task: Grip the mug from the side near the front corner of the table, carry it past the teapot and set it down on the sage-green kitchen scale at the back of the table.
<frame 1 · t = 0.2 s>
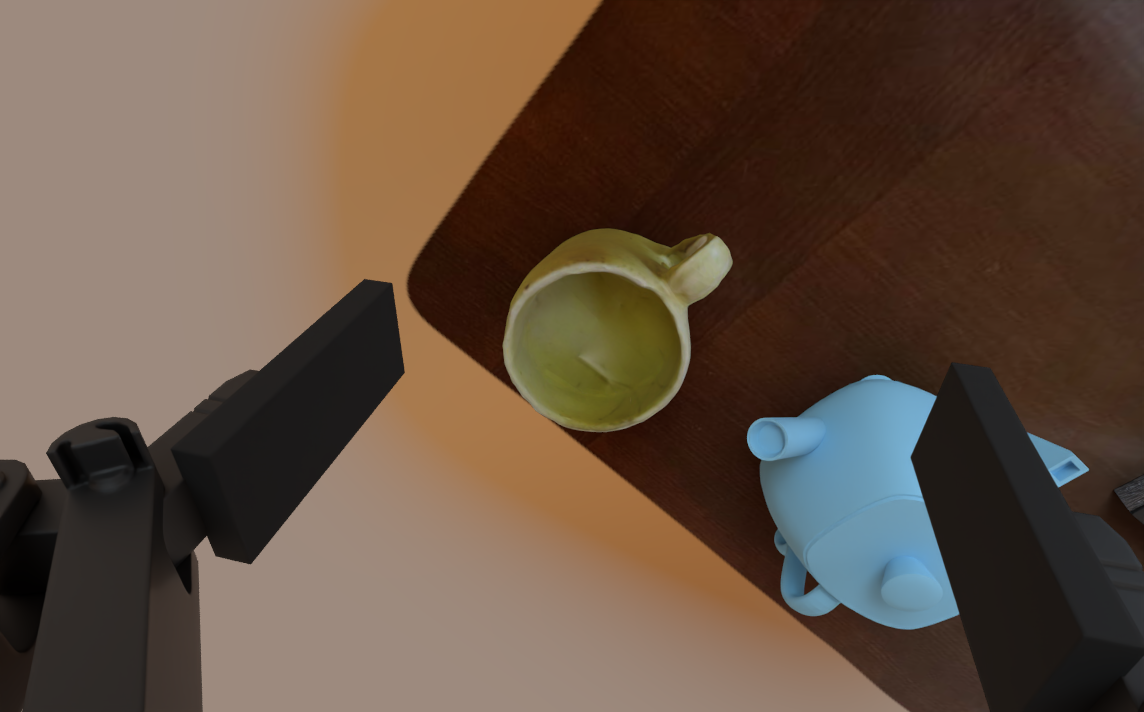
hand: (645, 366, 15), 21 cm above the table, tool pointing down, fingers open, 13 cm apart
mug: (637, 275, 37), on the table
teapot: (876, 436, 39), on the table
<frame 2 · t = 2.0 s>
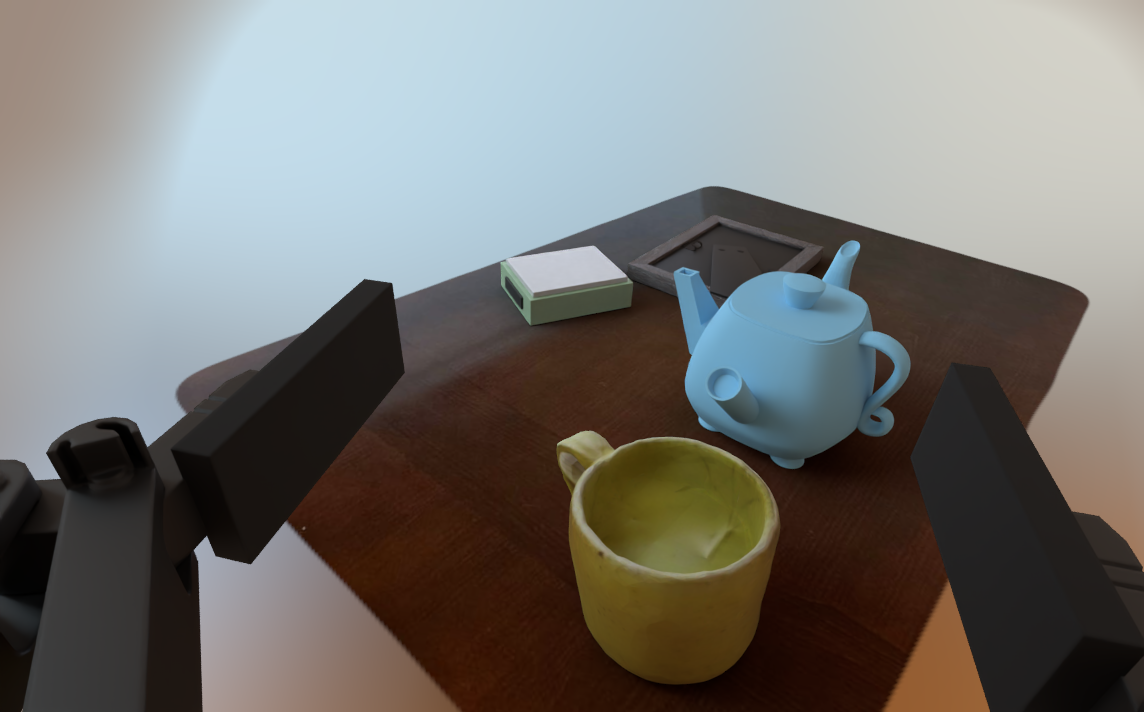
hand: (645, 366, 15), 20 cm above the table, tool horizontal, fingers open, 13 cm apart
mug: (638, 588, 34), on the table
scale: (564, 296, 60), on the table
teapot: (758, 418, 46), on the table
picture frame: (727, 270, 67), on the table
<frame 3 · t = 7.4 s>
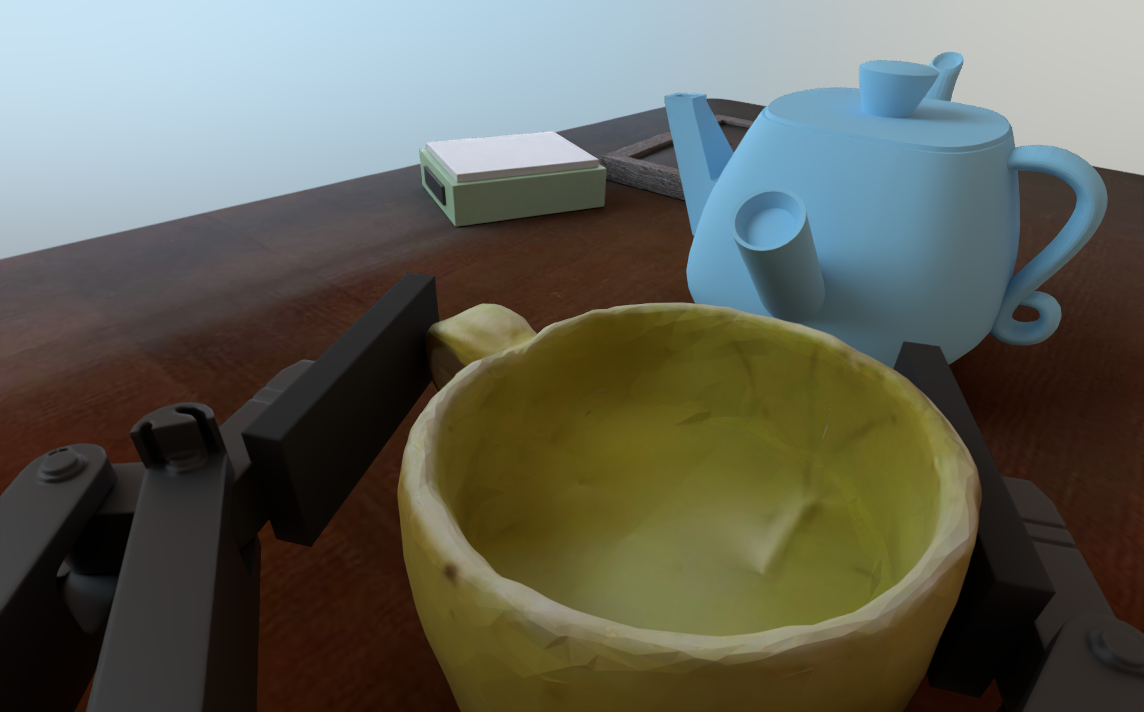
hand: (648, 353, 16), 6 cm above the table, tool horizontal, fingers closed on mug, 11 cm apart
mug: (603, 636, 16), on the table, touching gripper
scale: (511, 195, 43), on the table
teapot: (805, 337, 29), on the table
picture frame: (736, 171, 49), on the table
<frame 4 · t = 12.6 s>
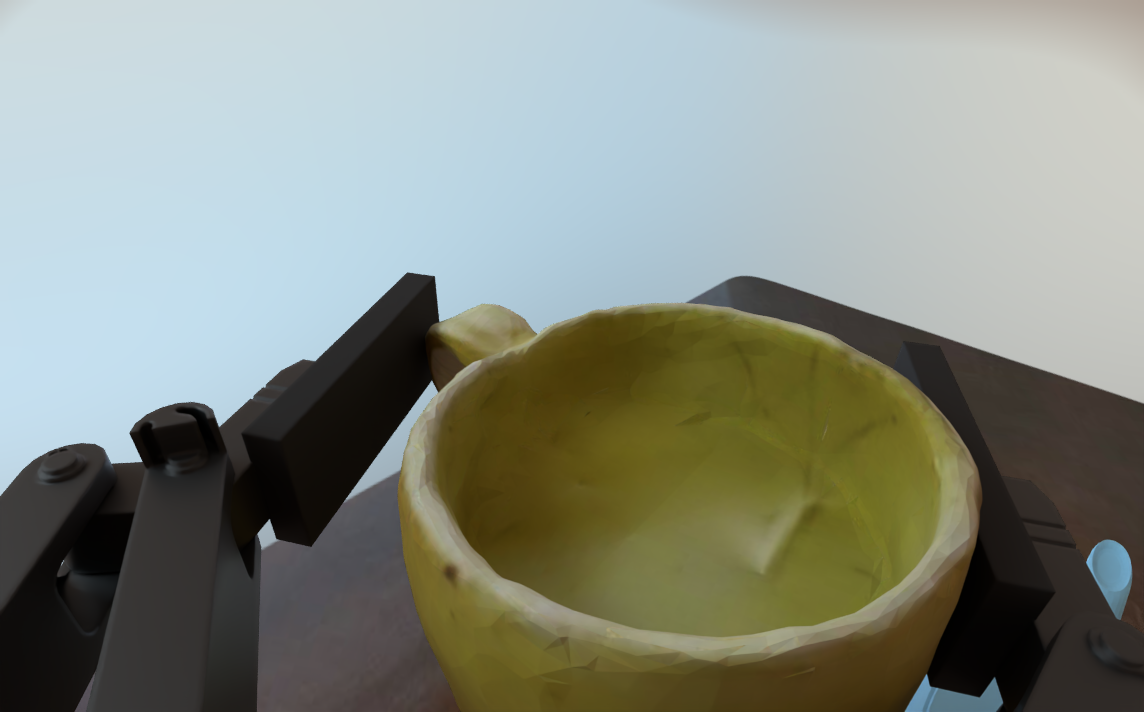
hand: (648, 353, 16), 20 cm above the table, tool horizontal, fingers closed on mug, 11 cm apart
mug: (603, 636, 16), point 14 cm above the table, touching gripper
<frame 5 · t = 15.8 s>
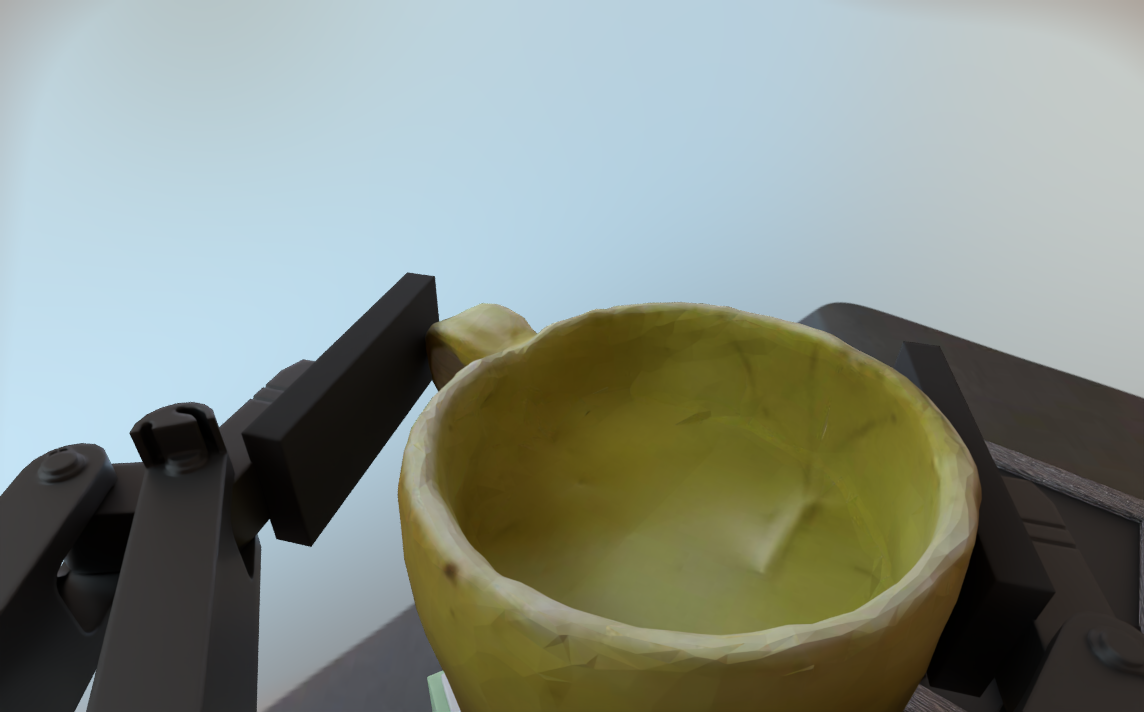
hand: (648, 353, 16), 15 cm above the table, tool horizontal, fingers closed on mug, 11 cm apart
mug: (603, 636, 16), point 9 cm above the table, touching gripper
picture frame: (978, 589, 28), on the table
when the fingers open (9 cm above the table, at t = 18.0 s): mug stays where it is, resting on scale.
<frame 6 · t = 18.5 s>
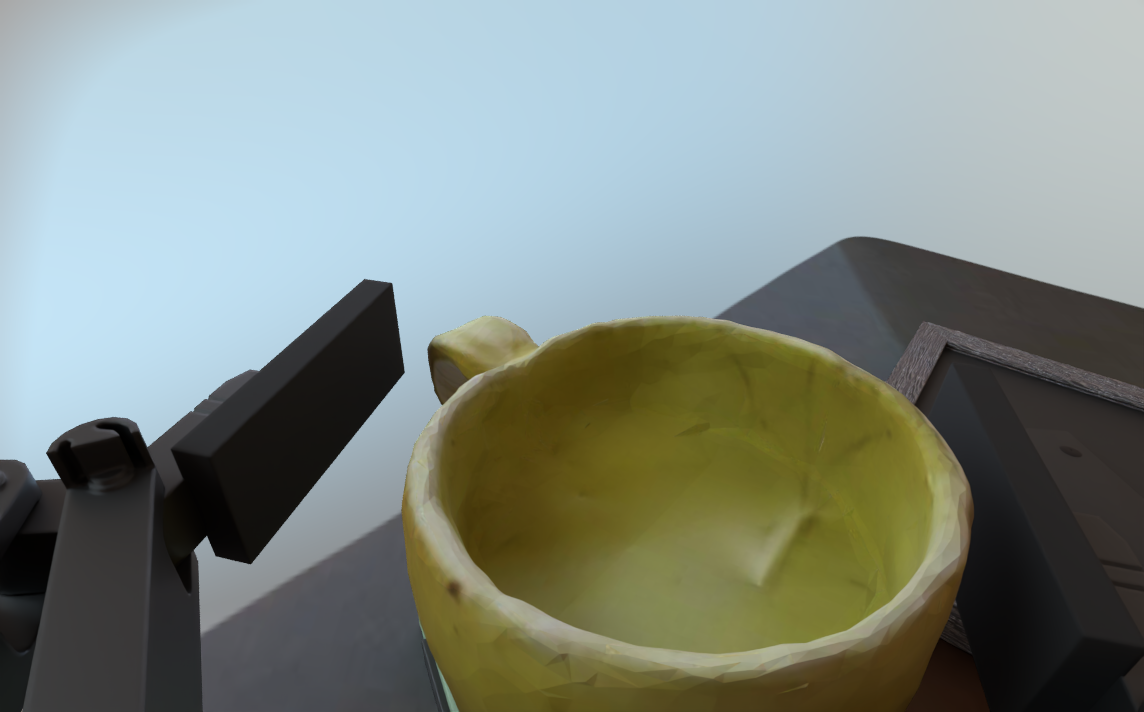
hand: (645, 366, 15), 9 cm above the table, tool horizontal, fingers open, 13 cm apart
mug: (603, 644, 16), point 3 cm above the table, touching scale
scale: (622, 674, 19), on the table
picture frame: (1033, 501, 25), on the table
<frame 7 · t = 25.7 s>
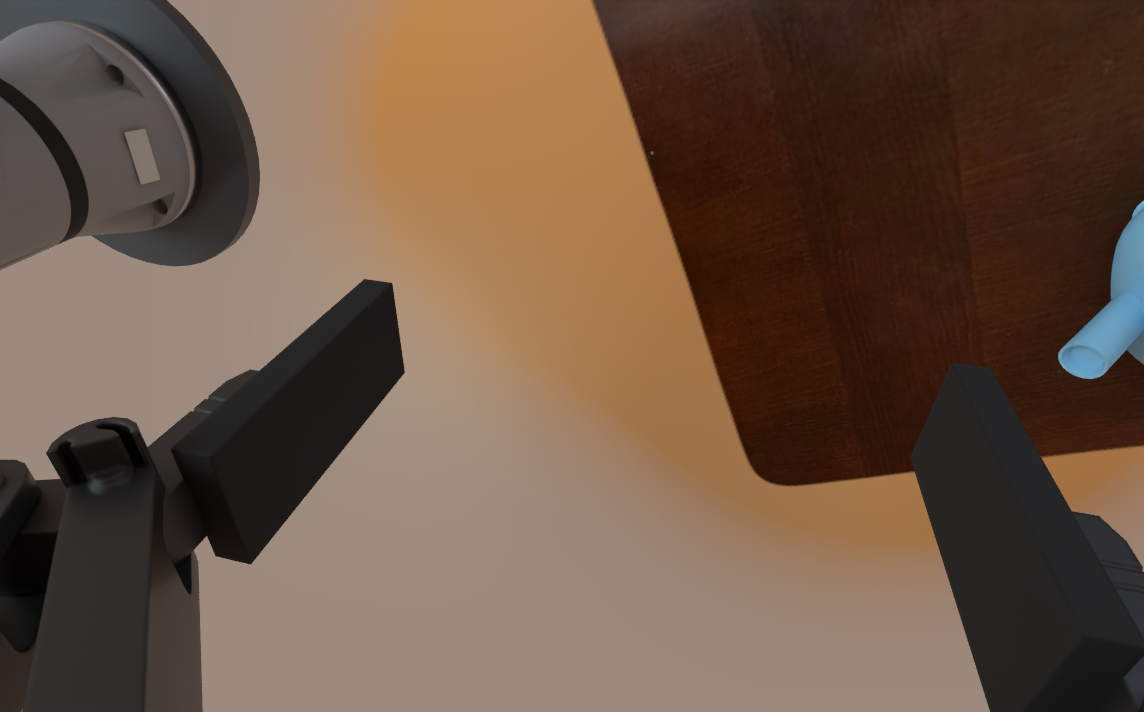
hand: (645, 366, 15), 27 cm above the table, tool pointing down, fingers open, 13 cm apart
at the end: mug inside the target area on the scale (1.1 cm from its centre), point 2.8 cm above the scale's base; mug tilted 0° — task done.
